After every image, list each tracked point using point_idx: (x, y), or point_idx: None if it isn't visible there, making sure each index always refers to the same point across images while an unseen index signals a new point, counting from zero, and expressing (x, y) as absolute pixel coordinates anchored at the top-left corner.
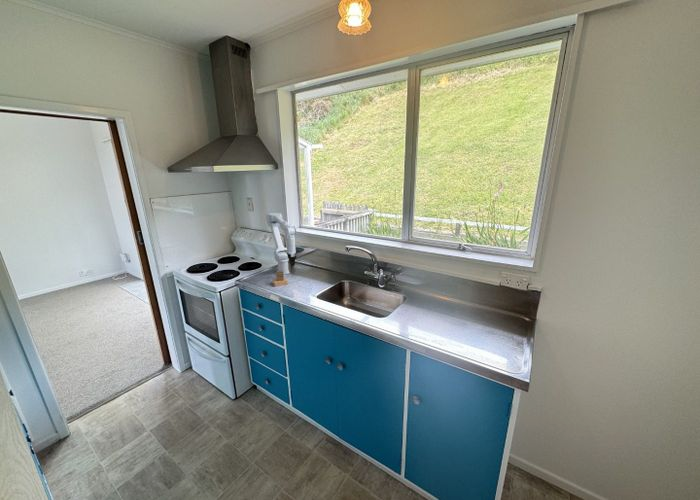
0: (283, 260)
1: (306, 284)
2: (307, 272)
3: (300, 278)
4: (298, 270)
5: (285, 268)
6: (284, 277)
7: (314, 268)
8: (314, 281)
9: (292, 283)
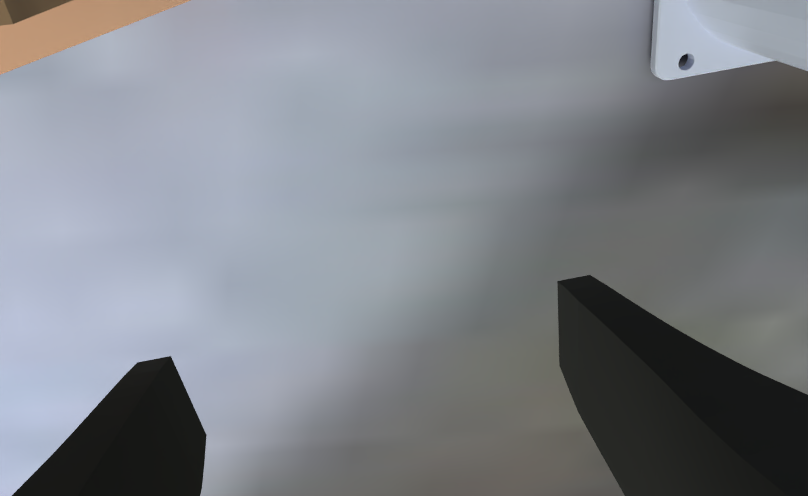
0: None
1: (27, 396)
2: None
3: (329, 293)
4: (770, 232)
5: (754, 8)
6: (154, 10)
7: None
8: None
9: (53, 175)
